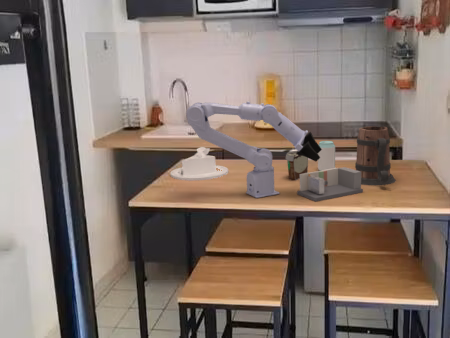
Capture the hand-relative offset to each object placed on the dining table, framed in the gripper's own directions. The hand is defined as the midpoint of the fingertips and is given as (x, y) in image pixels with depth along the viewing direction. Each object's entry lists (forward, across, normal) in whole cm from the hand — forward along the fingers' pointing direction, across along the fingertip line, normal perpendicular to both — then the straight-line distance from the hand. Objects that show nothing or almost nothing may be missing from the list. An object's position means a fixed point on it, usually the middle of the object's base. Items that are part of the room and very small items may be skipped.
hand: (318, 155), depth 177 cm
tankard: (+25, +14, -1) cm, 29 cm away
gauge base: (+12, -3, +7) cm, 14 cm away
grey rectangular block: (+8, -5, +8) cm, 12 cm away
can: (+13, +32, +14) cm, 37 cm away
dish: (-26, +23, +49) cm, 60 cm away
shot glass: (+5, +39, +24) cm, 46 cm away
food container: (+3, +19, +20) cm, 28 cm away
